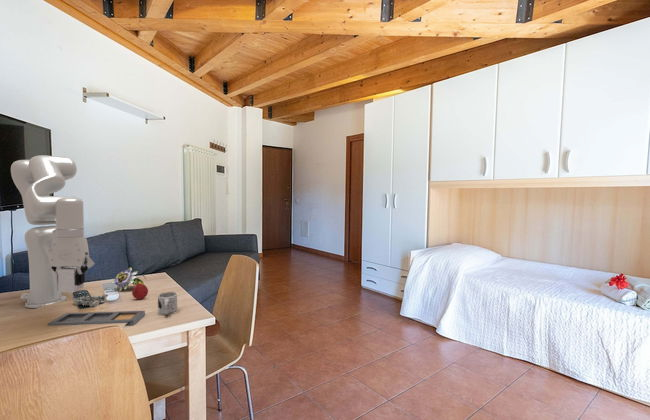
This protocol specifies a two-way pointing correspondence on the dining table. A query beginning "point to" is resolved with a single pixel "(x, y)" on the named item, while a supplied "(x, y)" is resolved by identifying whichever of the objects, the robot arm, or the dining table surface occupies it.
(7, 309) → the dining table surface
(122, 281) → the passion flower
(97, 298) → the egg carton
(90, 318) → the rail
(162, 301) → the mug
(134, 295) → the onion
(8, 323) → the dining table surface
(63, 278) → the block
